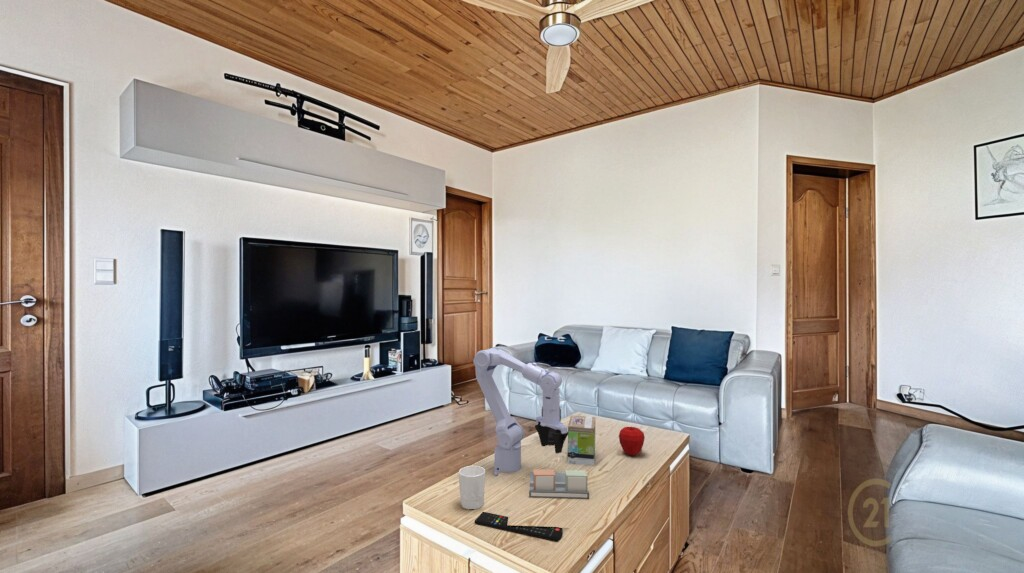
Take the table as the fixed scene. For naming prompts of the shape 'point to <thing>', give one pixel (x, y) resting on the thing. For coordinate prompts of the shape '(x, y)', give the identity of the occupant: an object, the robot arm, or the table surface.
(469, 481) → the white cup
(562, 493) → the shelf board
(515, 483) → the table surface
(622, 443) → the apple
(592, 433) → the tea box
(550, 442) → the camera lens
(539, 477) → the terracotta carton
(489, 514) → the remote control
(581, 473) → the sage carton
